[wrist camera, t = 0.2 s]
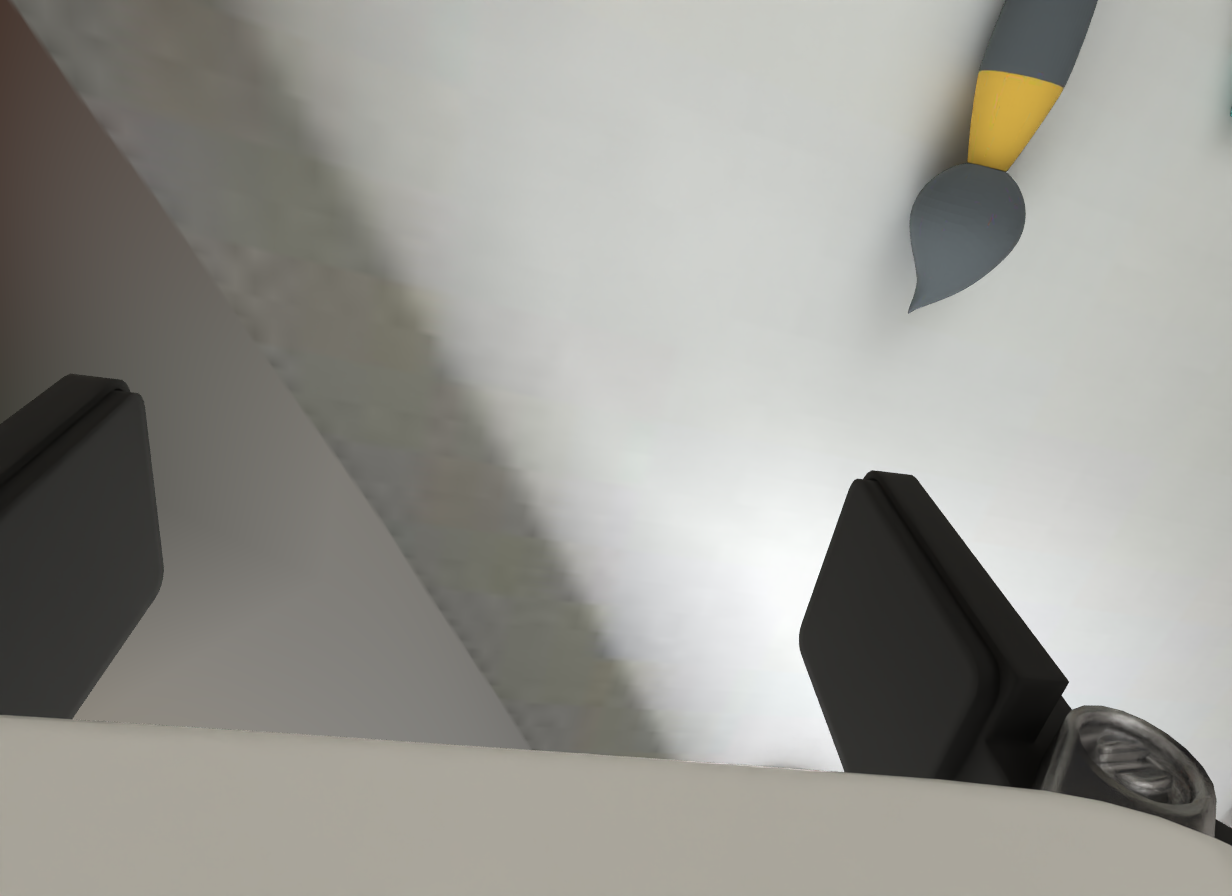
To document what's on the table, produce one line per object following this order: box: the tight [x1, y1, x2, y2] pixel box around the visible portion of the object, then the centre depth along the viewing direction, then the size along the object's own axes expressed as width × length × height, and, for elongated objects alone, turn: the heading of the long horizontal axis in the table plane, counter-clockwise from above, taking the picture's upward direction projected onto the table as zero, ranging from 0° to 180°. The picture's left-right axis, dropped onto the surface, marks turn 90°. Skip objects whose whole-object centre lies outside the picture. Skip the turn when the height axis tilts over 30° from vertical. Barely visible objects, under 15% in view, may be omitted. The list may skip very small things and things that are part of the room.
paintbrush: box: [908, 0, 1098, 313], centre depth 36 cm, size 20×5×5 cm, turn 171°
